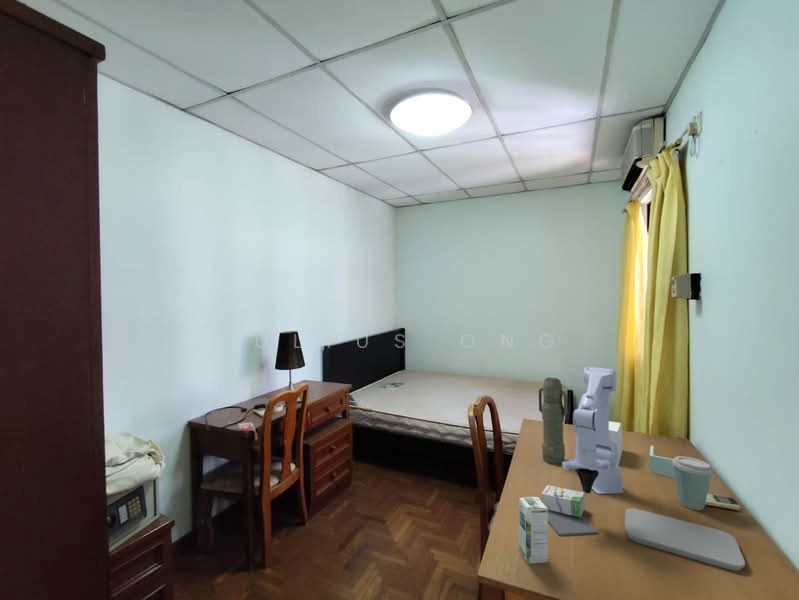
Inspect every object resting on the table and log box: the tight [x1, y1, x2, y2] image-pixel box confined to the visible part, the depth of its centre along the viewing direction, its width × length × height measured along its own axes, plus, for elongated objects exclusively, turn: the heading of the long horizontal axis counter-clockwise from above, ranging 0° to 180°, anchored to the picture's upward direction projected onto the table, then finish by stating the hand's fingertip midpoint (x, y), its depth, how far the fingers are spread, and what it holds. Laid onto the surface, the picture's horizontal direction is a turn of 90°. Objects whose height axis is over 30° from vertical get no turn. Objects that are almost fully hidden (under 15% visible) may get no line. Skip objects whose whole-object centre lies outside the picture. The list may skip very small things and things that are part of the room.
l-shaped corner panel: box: [649, 445, 675, 479], centre depth 145 cm, size 12×12×8 cm
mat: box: [548, 510, 599, 537], centre depth 113 cm, size 12×13×1 cm
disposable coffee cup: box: [672, 455, 714, 511], centre depth 121 cm, size 11×11×15 cm
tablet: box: [624, 507, 746, 572], centre depth 104 cm, size 16×26×2 cm, turn 57°
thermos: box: [538, 377, 569, 466], centre depth 156 cm, size 9×12×35 cm
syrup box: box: [518, 496, 549, 565], centre depth 98 cm, size 6×6×14 cm
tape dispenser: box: [602, 420, 623, 466], centre depth 161 cm, size 12×18×14 cm, turn 144°
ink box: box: [541, 484, 586, 518], centre depth 119 cm, size 8×5×12 cm
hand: (586, 491), depth 113 cm, fingers closed
